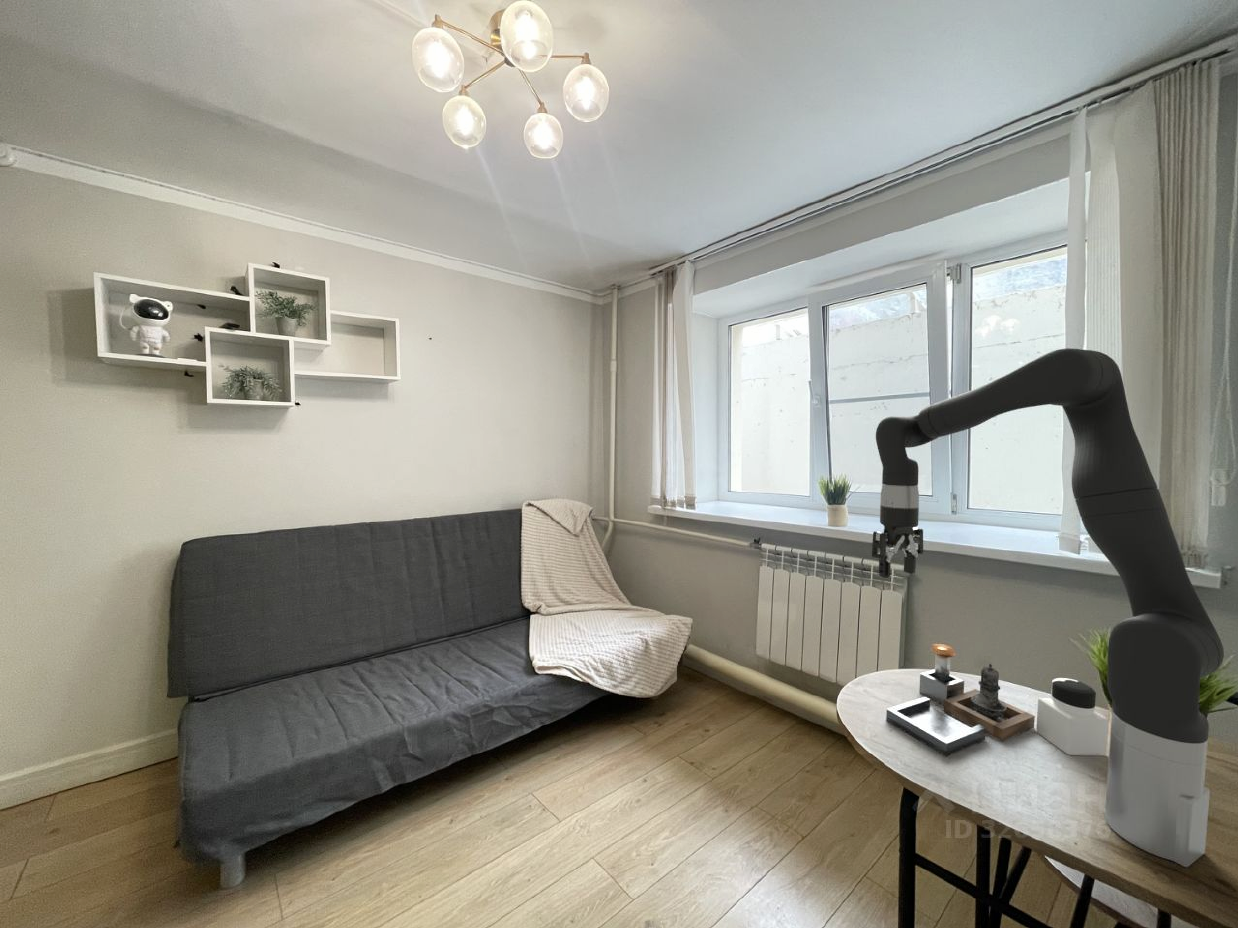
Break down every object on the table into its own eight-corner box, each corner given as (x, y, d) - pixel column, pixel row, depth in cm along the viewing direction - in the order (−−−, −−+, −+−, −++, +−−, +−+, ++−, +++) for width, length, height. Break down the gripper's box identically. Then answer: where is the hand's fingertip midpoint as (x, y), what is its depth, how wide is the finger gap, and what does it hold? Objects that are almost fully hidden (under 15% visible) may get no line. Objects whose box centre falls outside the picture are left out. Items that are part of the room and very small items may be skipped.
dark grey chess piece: (968, 708, 103) (971, 654, 102) (1002, 716, 100) (1005, 661, 99) (971, 722, 98) (974, 665, 97) (1008, 731, 95) (1011, 673, 94)
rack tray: (985, 740, 92) (986, 727, 92) (945, 756, 87) (946, 743, 87) (924, 707, 103) (924, 696, 103) (886, 720, 98) (886, 708, 98)
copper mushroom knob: (958, 680, 106) (959, 650, 106) (945, 684, 104) (947, 654, 104) (938, 671, 110) (939, 642, 110) (925, 675, 108) (927, 645, 108)
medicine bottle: (1107, 756, 87) (1111, 693, 87) (1068, 755, 88) (1072, 693, 87) (1071, 732, 95) (1075, 674, 94) (1035, 731, 95) (1038, 673, 94)
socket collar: (1034, 727, 96) (1034, 715, 96) (1001, 741, 92) (1002, 729, 91) (975, 699, 106) (975, 689, 106) (943, 711, 102) (944, 699, 101)
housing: (963, 699, 106) (964, 680, 106) (946, 705, 103) (947, 686, 103) (936, 686, 111) (937, 668, 111) (919, 692, 109) (920, 673, 109)
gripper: (893, 508, 101) (891, 583, 102) (936, 504, 107) (933, 575, 108) (862, 504, 108) (861, 574, 109) (904, 501, 114) (902, 567, 114)
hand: (897, 574), depth 108 cm, fingers open, 8 cm apart
